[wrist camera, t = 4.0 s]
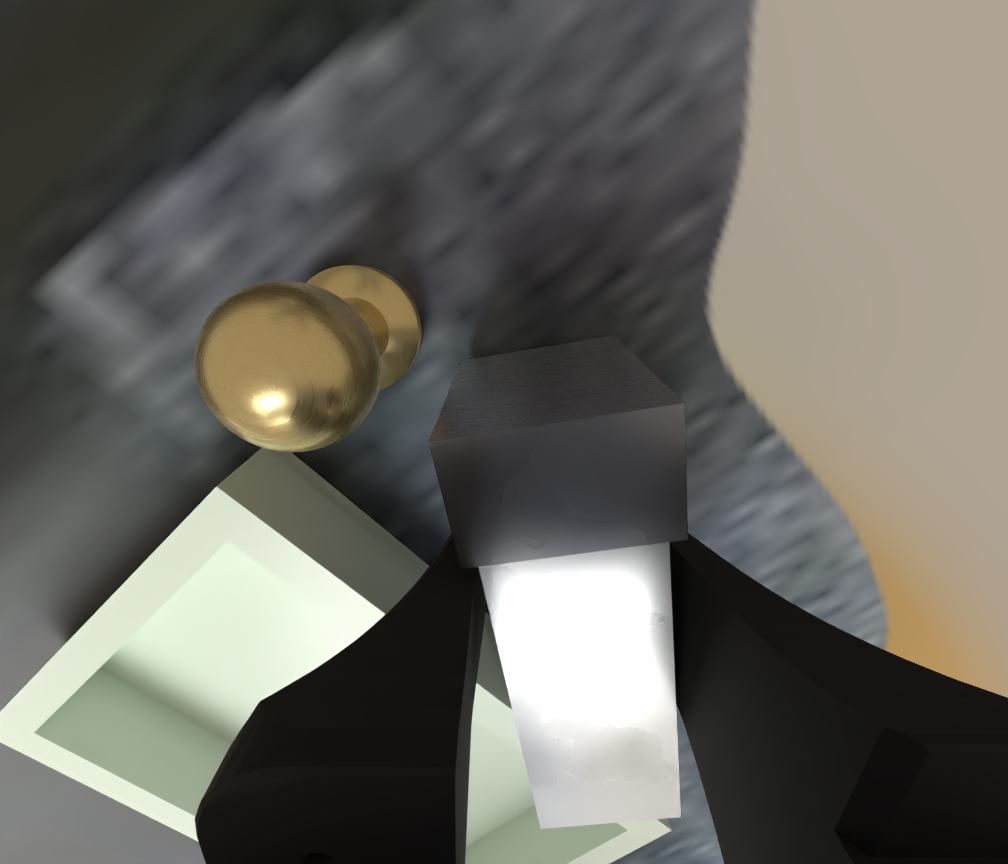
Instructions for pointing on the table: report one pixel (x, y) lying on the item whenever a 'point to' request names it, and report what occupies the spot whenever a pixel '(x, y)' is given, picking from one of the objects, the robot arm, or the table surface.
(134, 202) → the table surface
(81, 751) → the tray
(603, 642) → the strut
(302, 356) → the door knob
